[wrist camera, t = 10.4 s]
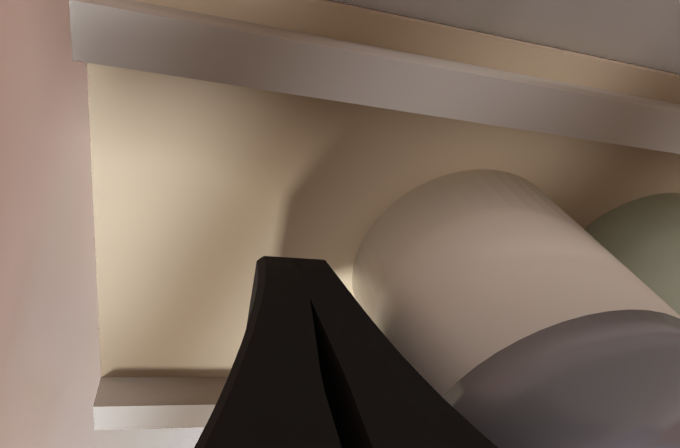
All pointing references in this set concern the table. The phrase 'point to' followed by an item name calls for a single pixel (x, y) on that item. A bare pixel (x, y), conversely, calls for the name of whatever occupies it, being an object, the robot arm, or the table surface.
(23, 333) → the table surface
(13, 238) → the table surface
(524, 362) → the cream jar
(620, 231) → the green jar
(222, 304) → the lane
